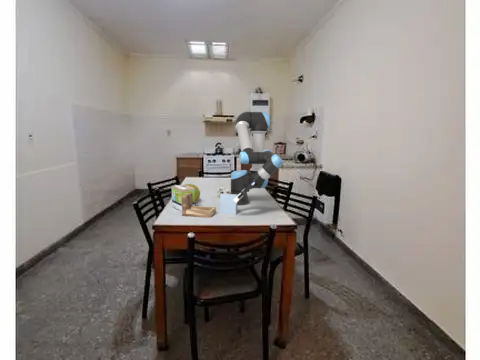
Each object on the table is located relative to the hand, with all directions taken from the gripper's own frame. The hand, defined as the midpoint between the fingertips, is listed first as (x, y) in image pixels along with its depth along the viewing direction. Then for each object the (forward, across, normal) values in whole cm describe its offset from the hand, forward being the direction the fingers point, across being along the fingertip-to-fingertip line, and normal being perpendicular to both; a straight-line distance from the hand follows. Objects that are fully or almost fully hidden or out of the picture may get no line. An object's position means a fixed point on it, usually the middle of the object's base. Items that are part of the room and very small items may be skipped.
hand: (236, 199), depth 207 cm
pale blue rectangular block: (+11, +2, -3) cm, 11 cm away
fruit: (+34, +24, +21) cm, 47 cm away
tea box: (+33, +7, +20) cm, 39 cm away
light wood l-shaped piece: (+23, -5, +9) cm, 25 cm away
